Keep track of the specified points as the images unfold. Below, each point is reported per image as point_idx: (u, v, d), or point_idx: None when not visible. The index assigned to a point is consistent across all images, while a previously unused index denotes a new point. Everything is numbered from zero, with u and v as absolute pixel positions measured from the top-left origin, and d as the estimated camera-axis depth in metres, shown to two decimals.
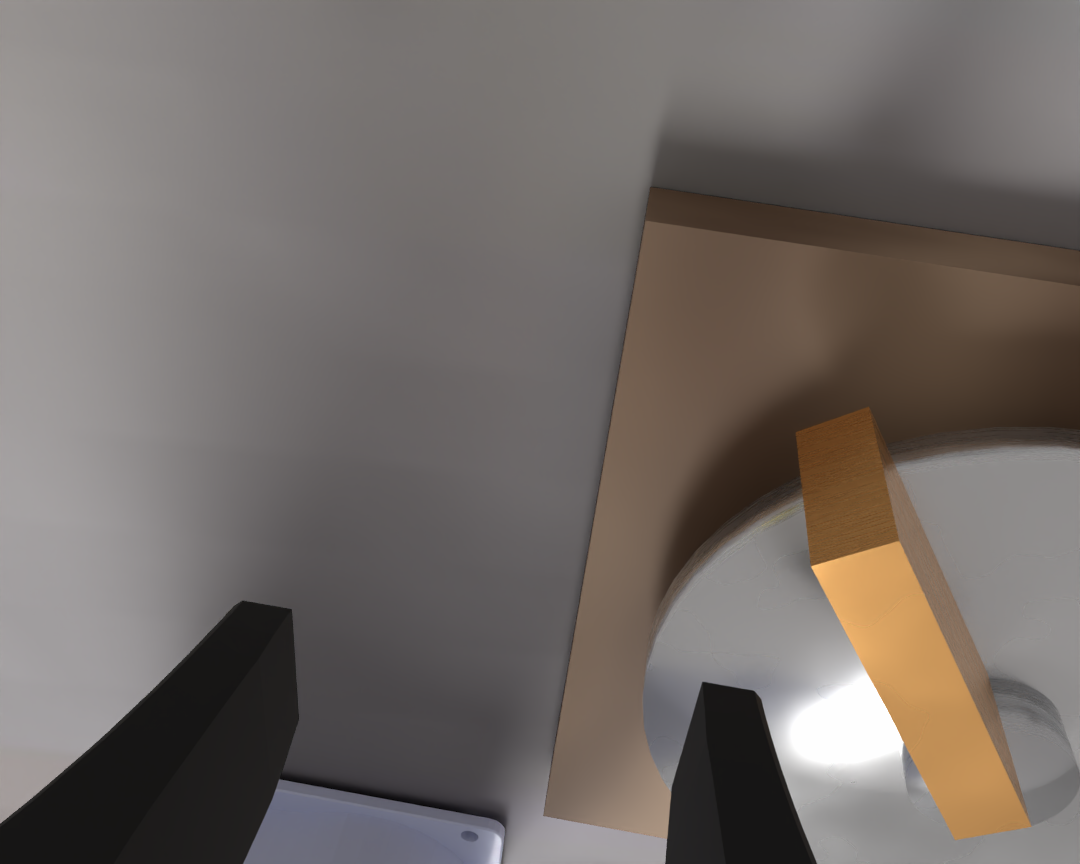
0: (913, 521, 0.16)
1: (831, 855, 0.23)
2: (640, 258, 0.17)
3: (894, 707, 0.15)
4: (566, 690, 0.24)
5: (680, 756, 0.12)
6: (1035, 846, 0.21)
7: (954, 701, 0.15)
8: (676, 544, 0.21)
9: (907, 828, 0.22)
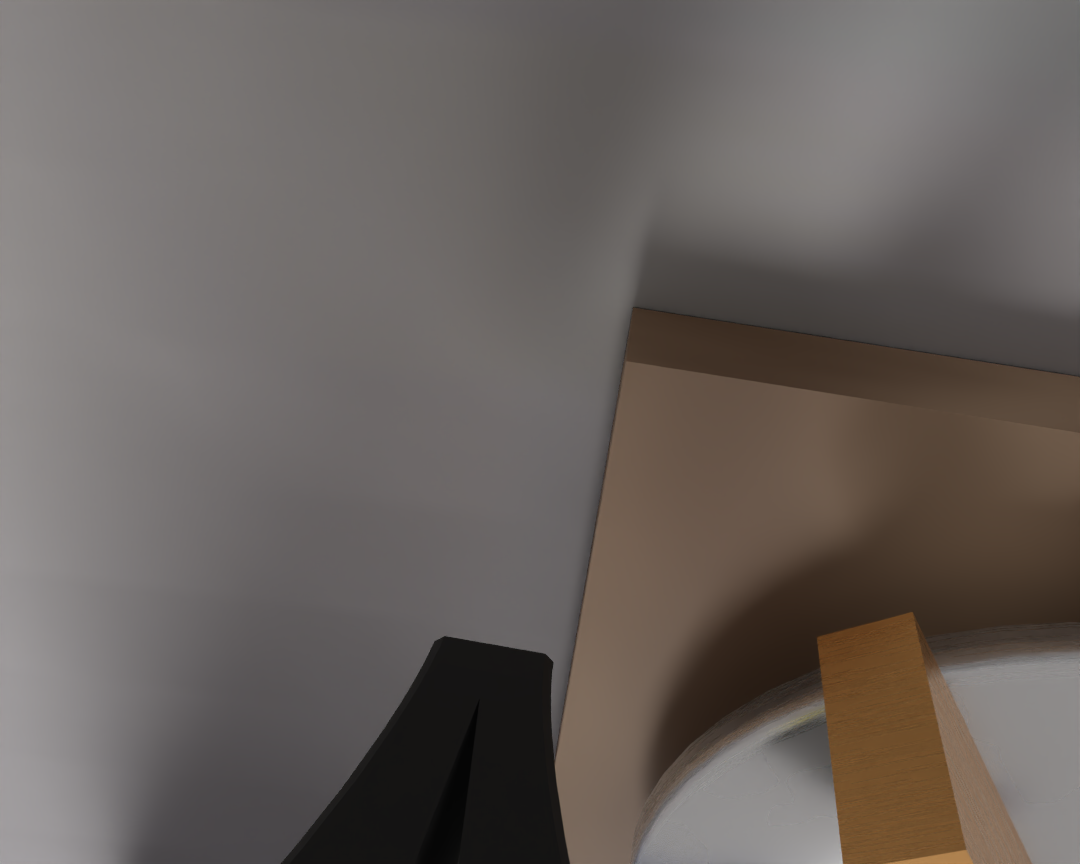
0: (969, 759, 0.12)
1: None
2: (619, 404, 0.14)
3: None
4: None
5: None
6: None
7: None
8: (667, 720, 0.17)
9: None
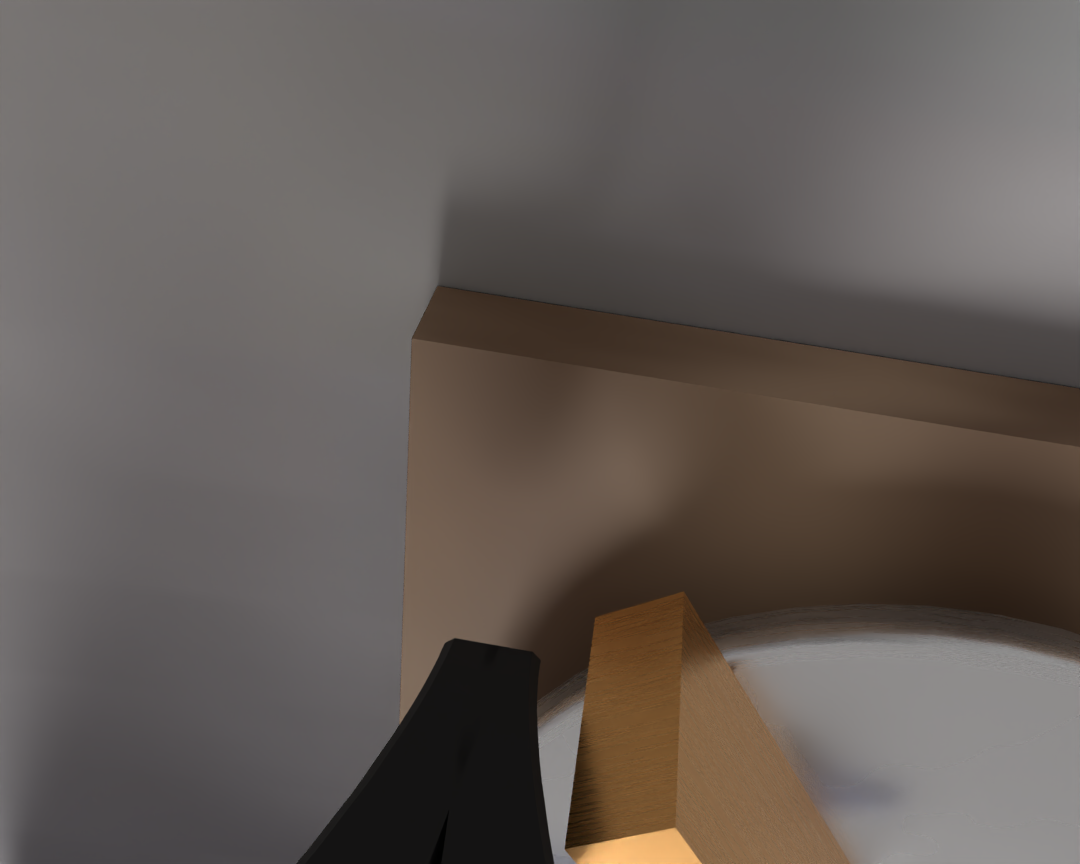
0: (742, 740, 0.12)
1: None
2: (411, 383, 0.13)
3: None
4: None
5: None
6: None
7: None
8: None
9: None
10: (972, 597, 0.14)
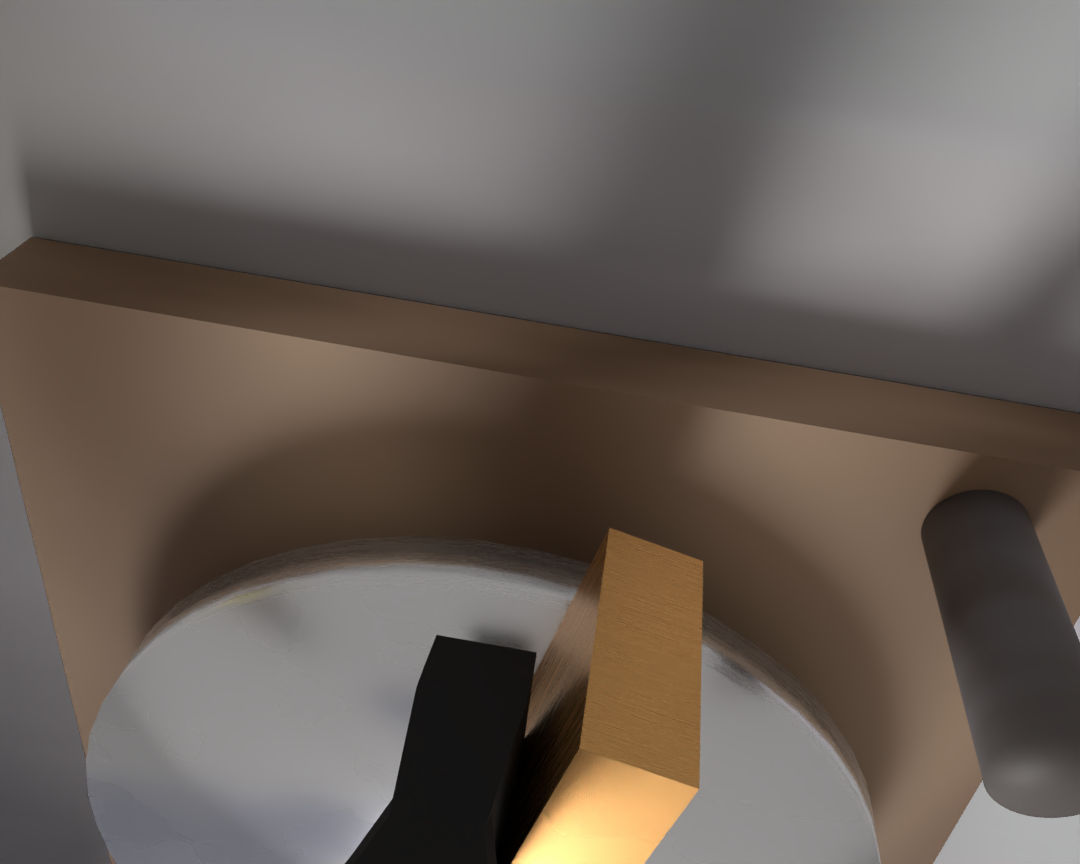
0: None
1: None
2: None
3: None
4: None
5: None
6: None
7: None
8: None
9: None
10: (536, 536, 0.15)
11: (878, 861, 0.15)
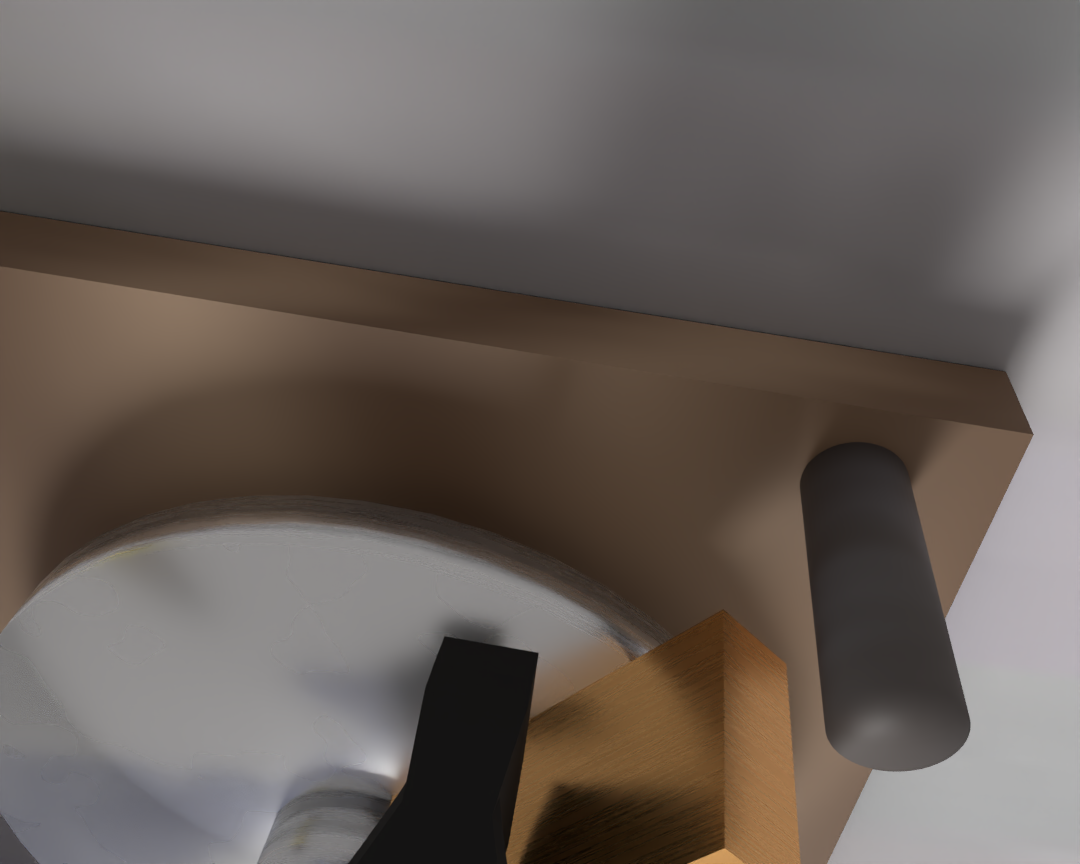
0: None
1: (62, 786, 0.17)
2: None
3: None
4: None
5: None
6: None
7: None
8: None
9: (169, 833, 0.17)
10: (415, 497, 0.15)
11: None
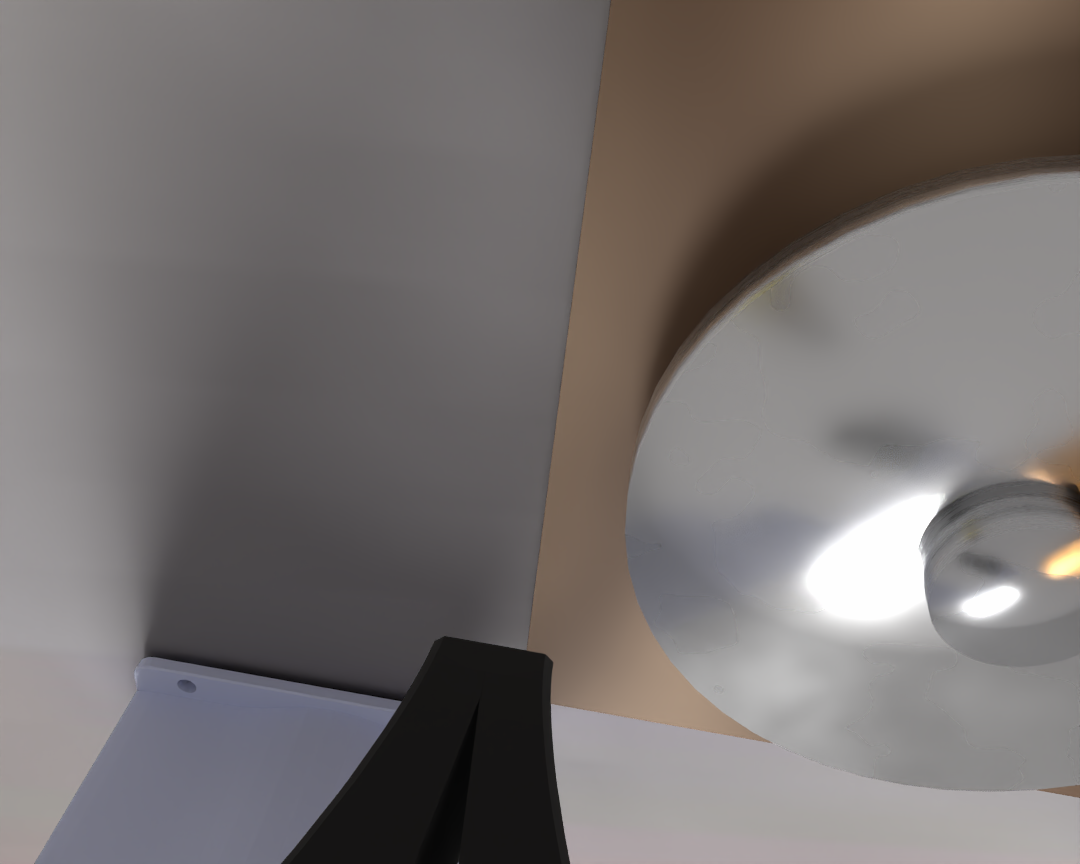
0: None
1: (711, 496, 0.17)
2: None
3: None
4: (542, 541, 0.21)
5: None
6: (818, 652, 0.19)
7: None
8: (663, 349, 0.18)
9: (802, 547, 0.18)
10: None
11: None
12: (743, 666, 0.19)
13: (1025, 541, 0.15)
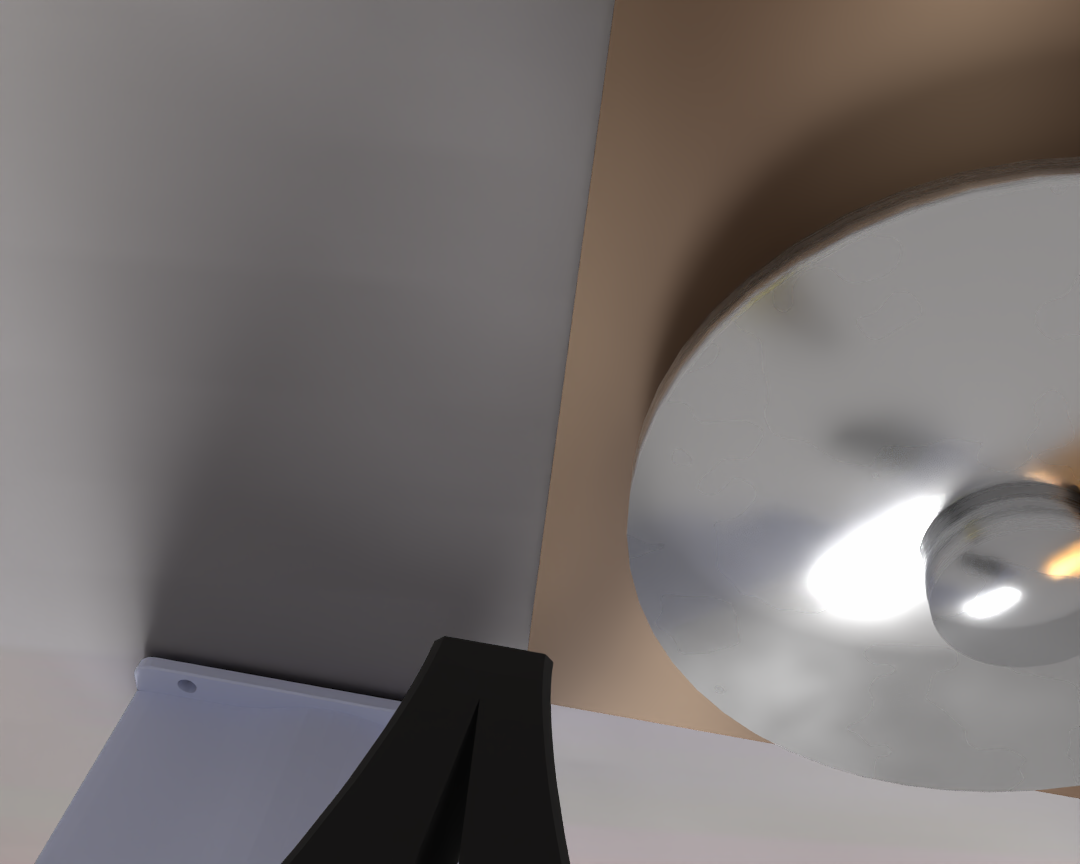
0: None
1: (713, 497, 0.17)
2: None
3: None
4: (543, 541, 0.21)
5: None
6: (819, 653, 0.19)
7: None
8: (665, 350, 0.18)
9: (804, 548, 0.18)
10: None
11: None
12: (744, 666, 0.20)
13: (1026, 542, 0.15)
